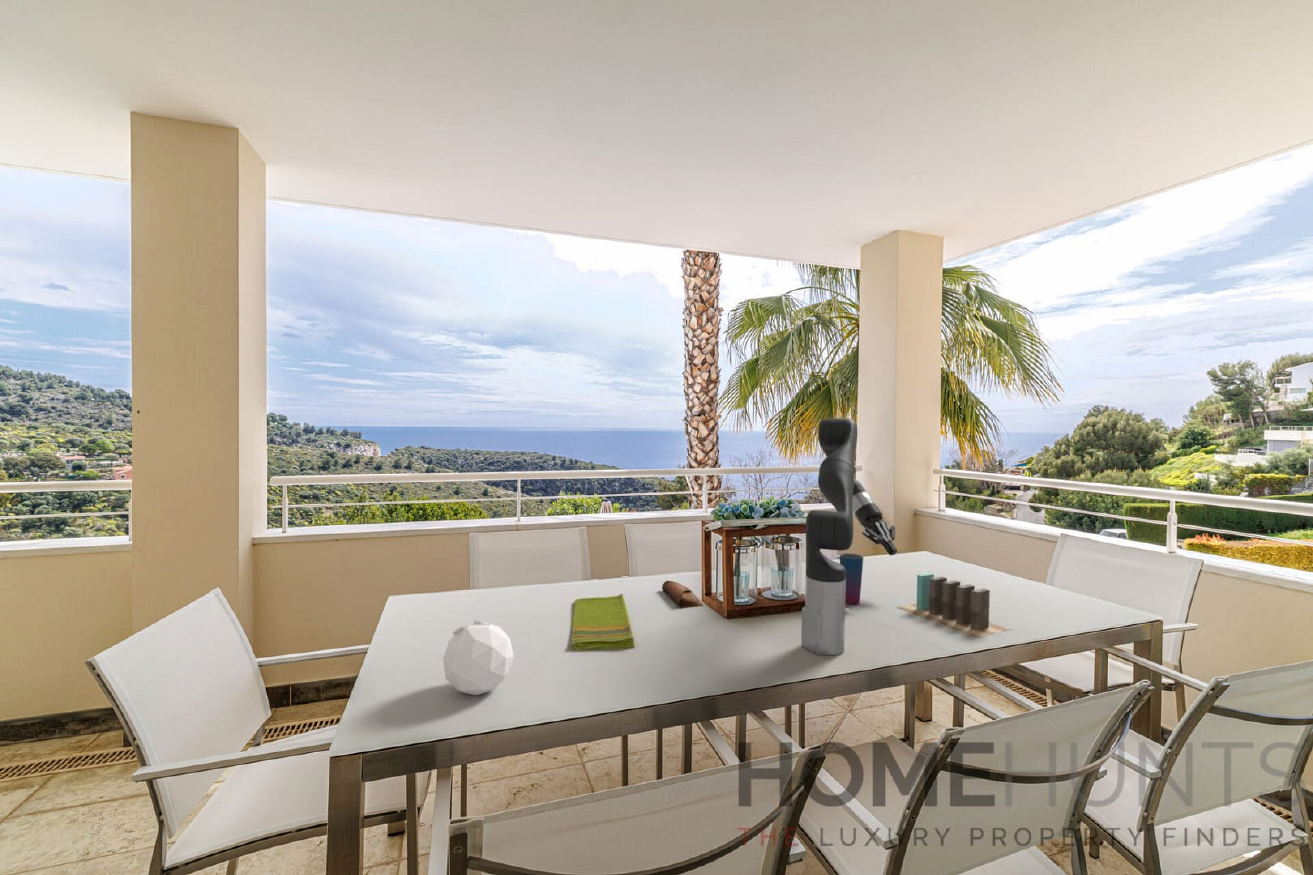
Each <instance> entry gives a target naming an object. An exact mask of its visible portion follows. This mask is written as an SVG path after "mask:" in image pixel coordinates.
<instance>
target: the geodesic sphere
mask: <svg viewBox="0 0 1313 875" xmlns="http://www.w3.org/2000/svg"><path fill="white" fill-rule="evenodd" d="M452 634H453V636H452V637H451V638H450V639H449V640H448V643H447V646H446V649H445V652H444V655H443V659H442V660H443V667H444V668H443V669H444V677H445V680H446V681H448V683H449V684H451V686H452V687H453V688H454V689H455V690H456V691H458V692H461V693H463V694H468V695H472V696H479V695H482V694H485V693H488V692H491V691H494V690H496V689H497V688H498V687H499V685H500V684H501V683H502V682H503V681H504V680H505V678H507V677H508V674H509V673H510V669H511V666H512V664H513V660H514V658H515V656H514V651H513V646H512V642H511V639H510V637H509V636H508V635H507V633H506V632H505V631H504V630H503V629H502V627H501V626H499V625H495V624H491V623H488V622H485V621H479V620H478V621H477V620H474V622H473V624H469V625H466V626H461V627H458V628H456V630H454V631H453V632H452Z"/></svg>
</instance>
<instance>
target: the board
mask: <svg viewBox="0 0 1313 875" xmlns="http://www.w3.org/2000/svg"><path fill="white" fill-rule="evenodd" d="M916 606H917V603H914V604H913V603H912V604H907V605H901V606H897V607H895V608H897V609H899V610H902V611H904V612H907V613H910V614H913V615H915V616H918V617H920V618H924V619H926V620H929V621H931V622H934V623H937V624H940V625H942V626H946V627H948V628H950V629H953V630H955V631H959V632H961V633H963V634H967V635H969V636H971V637H975V638H981V637H985V636H989V635H993V634H998V633H1003V632H1006V631H1011V630H1012V628H1009V627H1006V626H1003V625H1000V624H998V623H994V622H991V621H989V628H984V629H980V630H974V629H971V623H968V624H964V625H960V624H957V623H956V618H954V619H949V620H946V619H944V618H942V614H937V615H932V614H930V613H929V609H926V610H918V609H916Z"/></svg>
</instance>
